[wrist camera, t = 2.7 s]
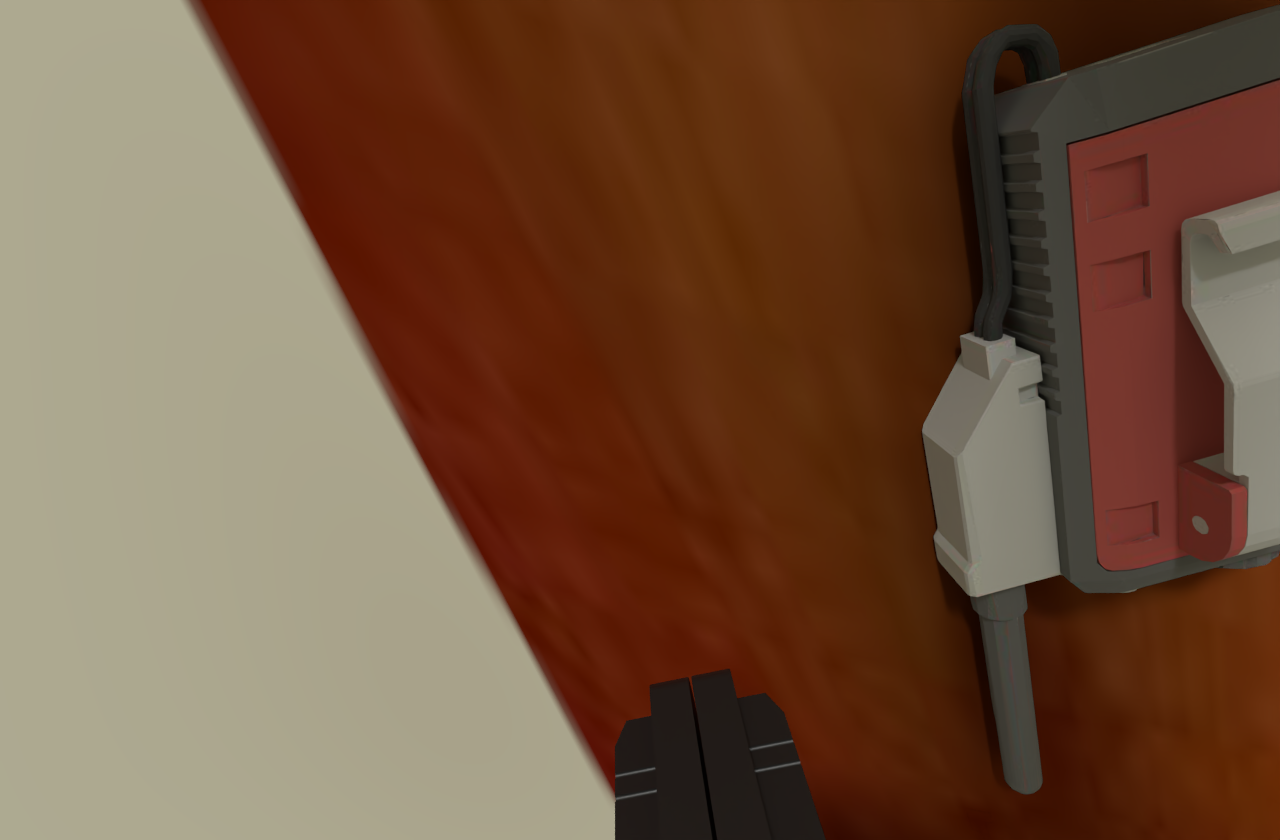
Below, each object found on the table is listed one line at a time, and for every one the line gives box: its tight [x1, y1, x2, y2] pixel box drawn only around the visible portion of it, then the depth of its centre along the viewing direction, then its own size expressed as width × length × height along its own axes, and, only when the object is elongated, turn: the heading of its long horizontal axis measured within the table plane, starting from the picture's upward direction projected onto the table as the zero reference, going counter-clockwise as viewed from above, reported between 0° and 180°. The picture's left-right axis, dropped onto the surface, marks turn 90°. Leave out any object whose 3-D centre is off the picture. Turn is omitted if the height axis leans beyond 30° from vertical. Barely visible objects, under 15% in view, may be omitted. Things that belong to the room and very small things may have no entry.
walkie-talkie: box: [922, 4, 1280, 794], centre depth 15 cm, size 9×4×20 cm
